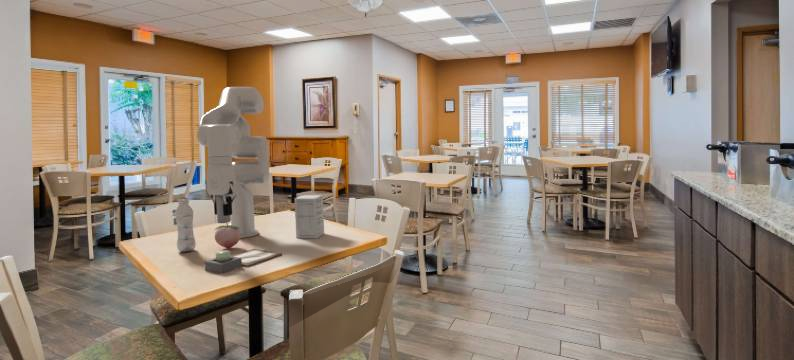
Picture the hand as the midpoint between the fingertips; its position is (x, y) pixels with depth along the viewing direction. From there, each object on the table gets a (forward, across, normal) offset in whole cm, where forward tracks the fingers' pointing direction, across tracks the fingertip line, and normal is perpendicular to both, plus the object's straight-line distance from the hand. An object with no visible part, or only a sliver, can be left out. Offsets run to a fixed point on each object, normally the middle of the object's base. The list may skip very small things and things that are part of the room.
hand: (223, 214), depth 157 cm
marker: (+3, 0, 0) cm, 3 cm away
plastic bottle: (+17, -23, +1) cm, 29 cm away
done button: (+13, +7, -6) cm, 16 cm away
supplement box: (+17, +1, +42) cm, 45 cm away
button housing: (+16, +7, -6) cm, 19 cm away
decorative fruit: (+17, -13, +11) cm, 24 cm away
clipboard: (+16, +6, +6) cm, 18 cm away
